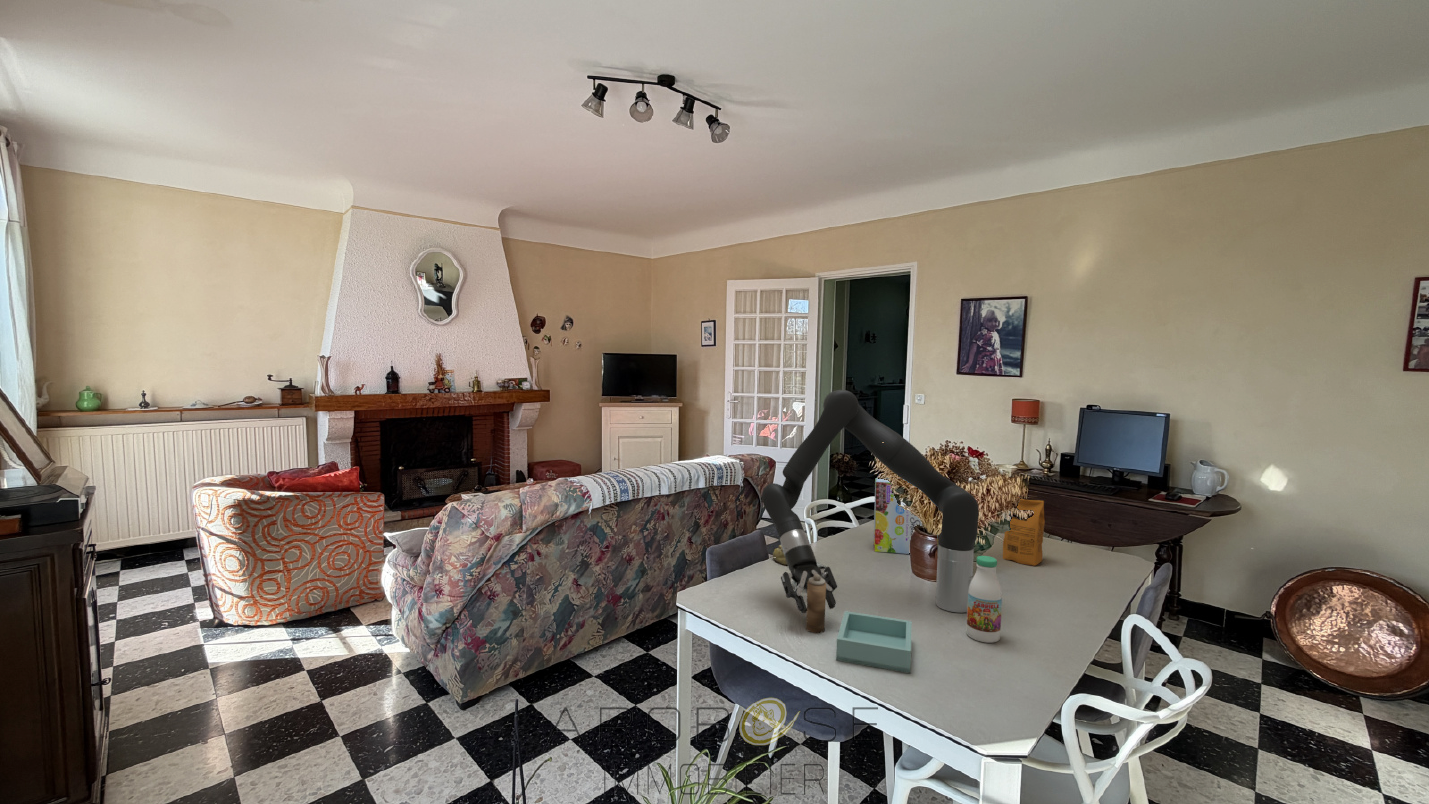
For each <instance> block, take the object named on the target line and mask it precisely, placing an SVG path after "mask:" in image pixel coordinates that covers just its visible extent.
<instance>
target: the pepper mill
mask: <svg viewBox="0 0 1429 804" xmlns="http://www.w3.org/2000/svg"><path fill="white" fill-rule="evenodd" d="M806 589H807V591H806V594H807V595H806V607H807V611H806V618H805V620H806V621H805V622H806V625H805V629H806V631H807V632H810V633H812V634H821V633H824V632H825V628H826V627H825V626H826V583H825V580H824V579H823V578H821V577H820V575H819V574H815V575H814V576H813V577H811V578H809V581H808V584H807V588H806Z"/></svg>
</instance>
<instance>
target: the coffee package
mask: <svg viewBox="0 0 1429 804" xmlns="http://www.w3.org/2000/svg"><path fill="white" fill-rule="evenodd" d="M1044 505H1045V501H1044V500H1038V499H1037V500H1036V499H1023V498H1021V499H1020V502H1019V503H1018V506H1017V508H1018V509H1019V510H1033V511H1034V515H1033V516H1032V517H1030V518H1028V519H1022V520H1020V519H1018V518H1017V517H1012V519H1011V521H1010V528H1011V530H1010V531H1006V532H1005V531H1004V537H1003V539H1002V559H1003V560H1008V561H1013V562H1016V563H1018V564H1021V565H1027V566H1037V565H1038V564H1040V563H1041V562H1042V561H1043V543H1044V532H1045V531H1044V530H1045V523H1046V522H1045V509H1044V508H1045V506H1044Z"/></svg>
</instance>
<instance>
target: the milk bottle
mask: <svg viewBox="0 0 1429 804" xmlns="http://www.w3.org/2000/svg"><path fill="white" fill-rule="evenodd" d="M997 566H998V560H997V559H996V558H995V557H993V556H989V555H978V556H976V567H977V568H976V571H975V574H974V576H973V579H972V581H971V583H970V586H969V591H968V605H967V612H966V627H965V628H966V634H967V635H968V636H969V638H971V639H972V640H975V641H977V642H982V643H988V644H990V643H997V642H999V641H1000V639H1001V627H1002V612H1003V611H1002V610H1003V609H1002V606H1003V604H1002V603H1003V593H1002V591H1003V590H1002V587H1001V584H1000V582H999V579H998V577H997V572H996V570H997Z"/></svg>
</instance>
